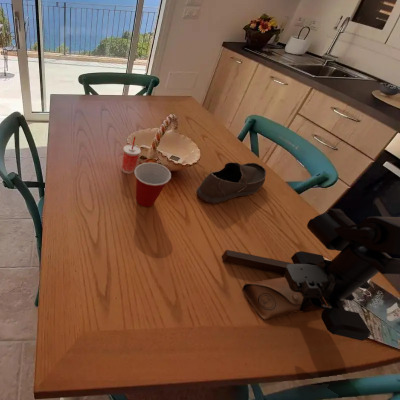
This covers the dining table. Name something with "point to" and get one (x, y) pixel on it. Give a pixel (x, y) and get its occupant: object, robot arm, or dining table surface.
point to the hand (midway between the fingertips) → (302, 311)
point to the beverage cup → (130, 158)
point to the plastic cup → (150, 182)
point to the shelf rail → (255, 262)
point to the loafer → (232, 182)
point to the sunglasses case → (272, 297)
